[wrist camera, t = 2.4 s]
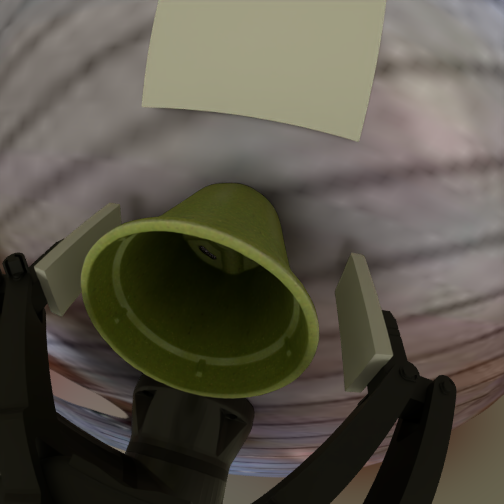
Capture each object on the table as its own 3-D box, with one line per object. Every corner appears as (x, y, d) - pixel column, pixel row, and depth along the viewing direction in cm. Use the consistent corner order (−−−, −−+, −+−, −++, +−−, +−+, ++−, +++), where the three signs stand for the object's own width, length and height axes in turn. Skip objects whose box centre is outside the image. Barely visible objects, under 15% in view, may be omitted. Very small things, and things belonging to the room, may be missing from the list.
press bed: (352, 137, 13) (358, 142, 12) (154, 105, 13) (141, 107, 12) (382, -38, 6) (390, -48, 5) (190, -62, 7) (181, -71, 5)
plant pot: (341, 227, 16) (373, 342, 8) (243, 309, 20) (218, 414, 13) (218, 119, 13) (133, 152, 6) (139, 232, 18) (65, 319, 11)
